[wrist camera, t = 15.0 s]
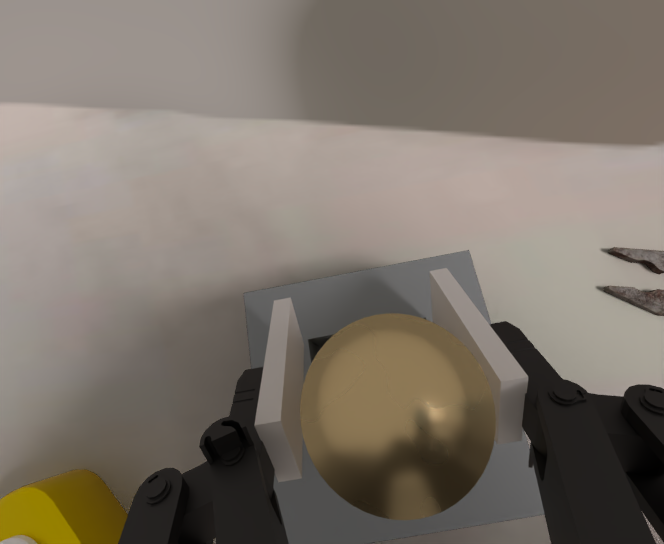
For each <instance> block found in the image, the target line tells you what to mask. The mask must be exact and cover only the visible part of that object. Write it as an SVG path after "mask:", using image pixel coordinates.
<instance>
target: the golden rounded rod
mask: <svg viewBox="0 0 664 544" xmlns="http://www.w3.org/2000/svg"><path fill="white" fill-rule="evenodd" d="M300 419H301V428H302V433H303V438H304V441H305V445H306V448H307V451H308V453H309V455H310V457H311V460H312V462H313V464H314V466H315V467H316V469H317V470H318V472H319V474H320V475H321V477H322V478H323V479H324V480H325V482H326V483H327V484H328V485H329V486H330V488H332V489H333V490H334V491H335V492H336V493H337V494H338V495H339V496H340V497H341V498H343V499H344V500H345V501H347V502H348V503H350V504H351V505H353V506H354V507H356V508H358V509H360V510H362V511H364V512H366V513H369V514H372V515H374V516H377V517H382V518H386V519H391V520H415V519H421V518H425V517H429V516H433V515H435V514H438V513H440V512H443V511H445V510H446V509H448V508H450V507H451V506H453V505H455V504H456V503H457V502H459V501H460V500H461V499H462V498H463V497H465V496H466V495H467V494H468V493H469V492H470V490H471V489H472V488H473V487H474V486H475V485H476V483H477V482H478V480H479V479H480V477H481V476H482V474H483V472H484V470H485V468H486V466H487V464H488V462H489V459H490V456H491V453H492V449H493V445H494V439H495V432H496V415H495V405H494V401H493V396H492V392H491V389H490V386H489V383H488V381H487V378H486V376H485V374H484V372H483V370H482V368H481V366H480V365H479V363H478V362H477V360H476V359H475V357H474V356H473V354H472V353H471V352H470V351H469V350H468V349H467V347H466V346H465V345H464V344H463V343H462V342H461V341H460V340H459V339H457V338H456V337H455V336H454V335H453V334H451V333H450V332H448V331H447V330H446V329H444V328H442V327H440V326H439V325H437V324H435V323H433V322H431V321H428V320H426V319H423V318H420V317H416V316H412V315H406V314H399V313H386V314H378V315H373V316H369V317H365V318H362V319H360V320H357V321H355V322H352V323H351V324H349V325H347V326H345V327H344V328H342V329H341V330H339V331H338V332H337V333H335V334H334V335H333V336H332V337H331V338H330V339H329V340H328V341H327V342H326V343H325V344H324V345H323V346H322V348H321V349H320V350H319V352H318V353H317V355H316V356H315V358H314V360H313V361H312V363H311V365H310V367H309V370H308V372H307V374H306V377H305V381H304V384H303V388H302V394H301V402H300Z"/></svg>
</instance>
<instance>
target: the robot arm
mask: <svg viewBox="0 0 664 544" xmlns="http://www.w3.org/2000/svg"><path fill="white" fill-rule="evenodd" d="M430 286H431V302H432V319H433V323H435V324H437V325H439V326H440V327H442V328H444V329H446V330H447V331H448V332H450V333H451V334H453V335H454V336H455V337H456V338H457V339H459V340H460V341H461V342H462V343H463V344H464V345H465V346H466V347H467V349H468V350H469V351H470V352H471V353H472V354H473V356H474V357H475V359H476V360H477V362H478V363H479V365H480V366H481V368H482V370H483V372H484V374H485V376H486V378H487V381H488V383H489V386H490V389H491V392H492V396H493V401H494V405H495V415H496V432H495V441H496V443H497V445H499V444H504V443H510V442H516V441H522V433H523V429H524V431H525V432H526V434H527V435H528V437H529V439H530V440H531V445H530V453H529V464H528V467H530V468H533V465H534V470H535V474H536V479H537V483H538V487H539V492H540V496H541V500H542V505H543V509H544V514H545V518H546V522H547V527H548V531H549V535H550V540H551V544H656V543H655V540H654V538H653V536H652V534H651V531H650V529H649V527H648V525H647V522H646V520H645V518H644V516H643V513H644V515H645V516H646V518H647V519H648V521H649V522H650V523H651V525H652V526H653V528H654V529H655V531H656V532H657V533H658V535H659V536H660V538H661V539H662V541H663V542H664V389H663V388H660V387H656V386H652V385H635V386H631V387H629V388H628V389H627V390H626V391H625V394H624V397H620V396H608V395H597V394H591V393H588V392H587V391H586V390H585V389H583V388H582V387H581V386H579V385H578V384H575V383H573V382H571V381H568V380H563V379H562V378H561V377H560V376H559V375H558V373H557V372H556V371H555V370H554V369H553V368H552V366H551V365H550V364H549V363H548V362H547V361H546V359H545V358H544V357H543V356H542V355H541V354H540V352H539V351H538V350H537V349H535V347H534V345H533V344H532V343H531V342H530V341H528V339H527V337H526V336H525V335H524V334H523V333H522V332H521V330H520V329H519V328H517V327H515V326H513V325H512V324H510V323H508V322H507V321H505V322H500V323H494V324H488V322H487V321H486V320H485V318H484V317H483V316H482V314H481V313H480V312H479V310H478V309H477V308H476V306H475V305H474V304H473V302H472V301H471V300H470V298H469V297H468V296H467V294H466V293H465V292H464V290H463V289H462V288H461V286H460V285H459V284H458V282H457V281H456V280H455V278H454V277H453V276H452V274H451V273H450V272H449V270H448V269H447V268H443V269H438V270H433V271H430ZM303 378H304V343H303V339H302V336H301V332H300V329H299V325H298V322H297V318H296V315H295V311H294V308H293V304H292V300H291V297H290V298H285V299H280V300H274V304H273V310H272V316H271V323H270V329H269V335H268V342H267V348H266V355H265V361H264V367H259V368H254V369H248V370H245V371H244V373H243V374H242V376H241V377H240V378H239V380H238V382H237V386H236V390H235V395H234V399H233V404H232V407H231V412H230V416H229V417H226V418H222V419H220V420H218V421H216V422H215V423H213V424H212V425H211V426H210V427H209V428H208V429H207V430H206V431H205V432H204V434H203V436H202V437H201V440H200V446H199V447H200V448H201V450H202V452H203V454H204V456H205V457H206V459H207V462H205V463H203V464H202V465H200V466H198V467H196V468H194V469H192V470H190V471H187V472H185V473H183V474H181V473H180V471H178V470H176V469H174V468H165V469H162V470H160V471H157V472H155V473H154V474H153V475H151V476H150V477H148V478H147V479H146V480H145V481H144V483H143V484H142V485H141V486H140V487H139V489H138V491H137V493H136V495H135V497H134V500H133V502H132V505H131V508H130V511H129V514H128V517H127V519H126V522H125V525H124V528H123V531H122V534H121V537H120V539H119V542H118V544H213V539H214V538H216V544H289V542H288V538H287V534H286V530H285V526H284V522H283V519H282V515H281V511H280V507H279V503H278V499H277V495H276V493H275V490H274V488H273V485H274V474H275V475H276V477H277V480H278V482H283V481H289V480H295V479H301V478H302V441H303V433H302V428H301V419H300V402H301V394H302V388H303ZM641 510H642V511H641ZM642 512H643V513H642Z"/></svg>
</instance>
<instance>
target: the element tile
mask: <svg viewBox="0 0 664 544" xmlns="http://www.w3.org/2000/svg"><path fill="white" fill-rule="evenodd" d="M127 517H128V515H127V513H126V512H125V510H124V509H123V508H122V506H121V505H120V504H119V502H118V501H117V499H116V498H115V497H114V495H113V494H112V493H111V491H110V490H109V488H108V487H107V486H106V484H105V483H104V482H103V480H101V479H100V478H99V477H98V476H97V475H96V474H94V473H92V472H90V471H88V470H72V471H69V472H66V473H63V474H60V475H57V476H54V477H51V478H47V479H44V480H41V481H38V482H35V483H32V484H29V485H26V486H23V487H21V488H19V489H17V490H15V491H12V492H11V493H9V494H8V495H6V496H5V497H3V498H2V499H1V500H0V544H118V542H119V539H120V537H121V534H122V531H123V528H124V525H125V522H126V519H127Z"/></svg>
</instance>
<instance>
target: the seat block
mask: <svg viewBox="0 0 664 544" xmlns="http://www.w3.org/2000/svg"><path fill="white" fill-rule="evenodd" d="M443 268H447V269H448V270H449V272H450V273H451V274H452V276H453V277H454V278H455V280H456V281H457V282H458V284H459V285H460V286H461V288H462V289H463V290H464V292H465V293H466V294H467V296H468V297H469V298H470V300H471V301H472V302H473V304H474V305H475V306H476V308H477V309H478V310H479V312H480V313H481V314H482V316H483V317H484V318H485V320H486V321H487V322H488V324H491V321H490V318H489V314H488V311H487V308H486V305H485V301H484V298H483V295H482V291H481V288H480V285H479V282H478V278H477V275H476V272H475V268H474V265H473V262H472V259H471V255H470V252H469V250H467V251H462V252H457V253H451V254H446V255H441V256H436V257H430V258H425V259H420V260H415V261H409V262H404V263H399V264H394V265H388V266H383V267H378V268H373V269H367V270H362V271H357V272H352V273H346V274H341V275H336V276H331V277H325V278H320V279H315V280H310V281H304V282H299V283H294V284H289V285H283V286H278V287H273V288H268V289H262V290H257V291H252V292H247V293H244V302H245V312H246V322H247V331H248V341H249V351H250V361H251V369H254V368H259V367H264V361H265V355H266V348H267V342H268V335H269V329H270V323H271V316H272V310H273V304H274V300H280V299H285V298H290V297H291V300H292V304H293V308H294V311H295V315H296V318H297V322H298V325H299V329H300V332H301V336H302V339H303V343H304V378H303V384H304V381H305V377H306V374H307V372H308V370H309V367H310V365H311V363H312V361H313V360H314V358H315V356H316V355H317V353H318V352H319V350H320V349H321V348H322V346H323V345H324V344H325V343H326V342H327V341H328V340H329V339H330V338H331V337H332V336H333V335H334V334H335V333H337V332H338V331H339V330H341V329H342V328H344V327H345V326H347V325H349V324H351V323H352V322H355V321H357V320H360V319H362V318H365V317H369V316H373V315H378V314H386V313H399V314H406V315H412V316H416V317H420V318H423V319H426V320H428V321H431V322H433V319H432V302H431V286H430V271H433V270H438V269H443ZM529 453H530V449H529V445H528V442H527V439H526V436H525V432H524V429H523V433H522V441H516V442H510V443H504V444H499V445H497V443H496V441H495V439H494V445H493V449H492V453H491V456H490V459H489V462H488V464H487V466H486V468H485V470H484V472H483V474H482V476H481V477H480V479H479V480H478V482H477V483H476V485H475V486H474V487H473V488H472V489H471V490H470V492H469V493H468V494H467V495H466V496H465V497H463V498H462V499H461V500H460V501H459V502H457V503H456V504H455V505H453V506H451V507H450V508H448V509H446V510H445V511H443V512H440V513H438V514H435V515H433V516H429V517H425V518H421V519H415V520H391V519H386V518H382V517H377V516H374V515H372V514H369V513H366V512H364V511H362V510H360V509H358V508H356V507H354V506H353V505H351V504H350V503H348V502H347V501H345V500H344V499H343V498H341V497H340V496H339V495H338V494H337V493H336V492H335V491H334V490H333V489H332V488H330V486H329V485H328V484H327V483H326V482H325V480H324V479H323V478H322V477H321V475H320V474H319V472H318V470H317V469H316V467H315V466H314V464H313V462H312V460H311V457H310V455H309V453H308V451H307V448H306V445H305V441H304V438H303V441H302V478H301V479H295V480H289V481H283V482H278V480H277V477H276V475H275V474H274V485H273V488H274V490H275V493H276V495H277V499H278V503H279V507H280V511H281V515H282V519H283V522H284V526H285V530H286V534H287V538H288V542H289V544H369V543H375V542H381V541H387V540H393V539H399V538H405V537H411V536H417V535H423V534H429V533H436V532H442V531H448V530H454V529H460V528H466V527H472V526H478V525H484V524H490V523H496V522H502V521H508V520H515V519H521V518H527V517H533V516H539V515H545V514H544V509H543V505H542V500H541V496H540V492H539V487H538V483H537V479H536V474H535V470H534V465H533V468H530V467H528V464H529Z"/></svg>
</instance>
